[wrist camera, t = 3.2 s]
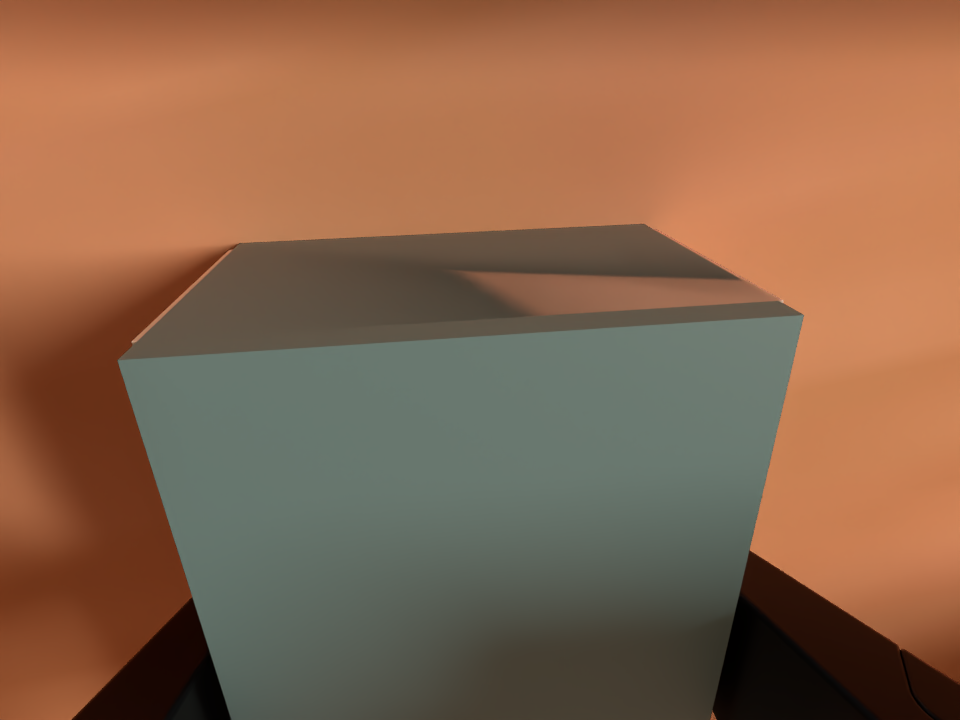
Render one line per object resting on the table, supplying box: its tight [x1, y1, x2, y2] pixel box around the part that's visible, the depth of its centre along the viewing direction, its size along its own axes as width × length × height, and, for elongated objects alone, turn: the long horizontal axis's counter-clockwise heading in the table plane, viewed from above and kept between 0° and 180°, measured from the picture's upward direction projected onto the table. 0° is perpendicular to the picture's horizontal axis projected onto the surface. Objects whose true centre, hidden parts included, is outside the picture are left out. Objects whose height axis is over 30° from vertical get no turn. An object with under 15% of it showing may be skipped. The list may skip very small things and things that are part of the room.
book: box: [117, 224, 804, 720], centre depth 9 cm, size 10×6×4 cm, turn 1°
